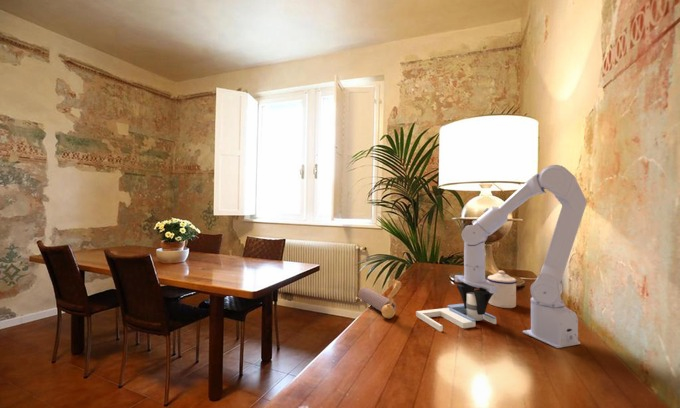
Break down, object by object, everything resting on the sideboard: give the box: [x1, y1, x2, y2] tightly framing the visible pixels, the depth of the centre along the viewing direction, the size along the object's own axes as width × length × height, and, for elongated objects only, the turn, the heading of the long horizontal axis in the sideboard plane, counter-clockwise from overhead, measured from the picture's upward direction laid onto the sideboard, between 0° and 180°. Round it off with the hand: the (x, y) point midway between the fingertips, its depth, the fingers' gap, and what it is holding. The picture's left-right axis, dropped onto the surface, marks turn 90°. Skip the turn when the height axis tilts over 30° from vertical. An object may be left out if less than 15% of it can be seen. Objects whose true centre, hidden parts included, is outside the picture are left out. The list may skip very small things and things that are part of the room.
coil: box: [357, 287, 397, 313], centre depth 99 cm, size 5×5×18 cm
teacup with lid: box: [486, 270, 517, 309], centre depth 104 cm, size 12×9×12 cm
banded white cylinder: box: [466, 292, 484, 322], centre depth 88 cm, size 5×5×7 cm
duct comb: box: [415, 302, 497, 332], centre depth 88 cm, size 12×19×2 cm, turn 107°
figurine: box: [381, 278, 402, 319], centre depth 89 cm, size 8×6×12 cm
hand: (474, 311), depth 88 cm, fingers closed on banded white cylinder, 4 cm apart
